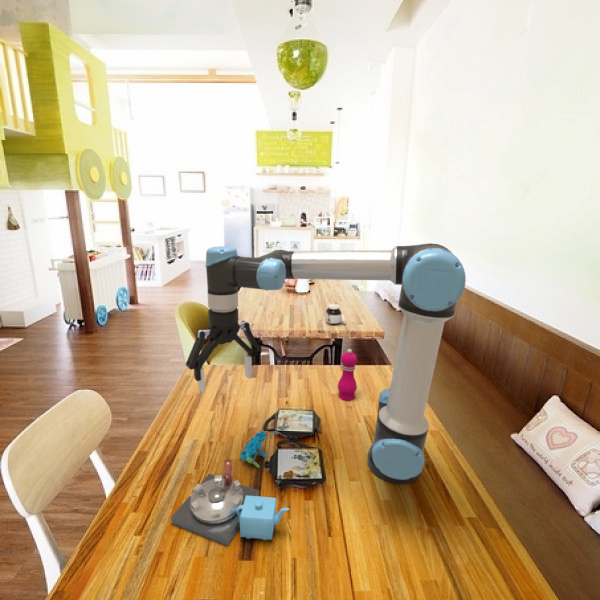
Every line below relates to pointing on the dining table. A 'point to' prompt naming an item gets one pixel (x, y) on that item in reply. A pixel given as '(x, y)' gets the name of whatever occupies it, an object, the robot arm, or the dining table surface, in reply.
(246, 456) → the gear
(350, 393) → the pepper mill
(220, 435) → the dining table surface
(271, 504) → the teapot
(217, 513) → the grey rounded piece
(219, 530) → the base plate
